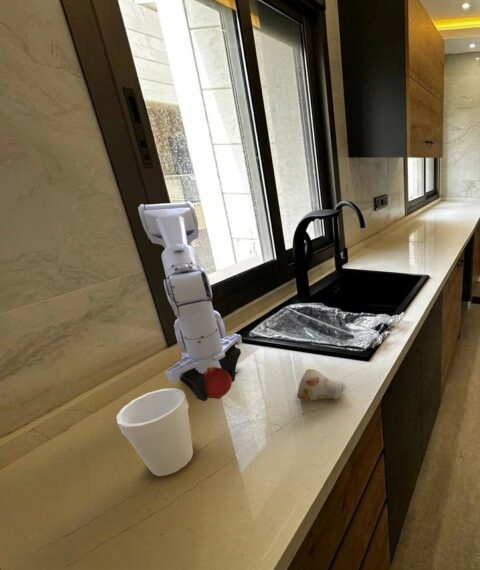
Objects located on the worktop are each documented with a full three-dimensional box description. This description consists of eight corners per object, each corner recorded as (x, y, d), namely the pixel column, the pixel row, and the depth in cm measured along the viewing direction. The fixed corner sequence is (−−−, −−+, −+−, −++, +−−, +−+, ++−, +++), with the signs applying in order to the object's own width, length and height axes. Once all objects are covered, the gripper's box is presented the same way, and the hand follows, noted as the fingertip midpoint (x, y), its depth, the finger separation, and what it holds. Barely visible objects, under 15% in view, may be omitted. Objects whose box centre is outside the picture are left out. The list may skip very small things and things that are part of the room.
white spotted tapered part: (342, 407, 75) (315, 381, 70) (310, 416, 78) (282, 392, 73) (351, 381, 81) (326, 355, 76) (320, 390, 84) (295, 366, 79)
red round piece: (212, 389, 71) (203, 358, 68) (239, 388, 72) (232, 357, 69) (197, 408, 66) (187, 375, 63) (227, 406, 66) (218, 374, 63)
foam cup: (153, 493, 55) (128, 435, 51) (131, 467, 60) (107, 412, 55) (212, 453, 63) (195, 399, 58) (188, 433, 67) (171, 381, 63)
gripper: (177, 356, 55) (196, 418, 60) (247, 319, 68) (259, 373, 73) (149, 348, 58) (170, 408, 63) (222, 313, 70) (235, 366, 75)
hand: (216, 389), depth 68 cm, fingers closed on red round piece, 6 cm apart
